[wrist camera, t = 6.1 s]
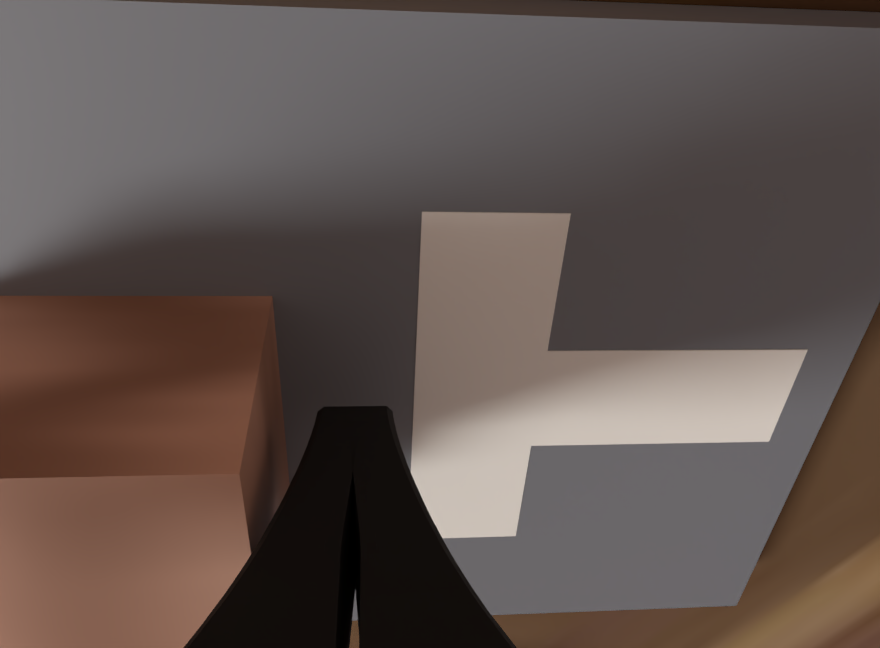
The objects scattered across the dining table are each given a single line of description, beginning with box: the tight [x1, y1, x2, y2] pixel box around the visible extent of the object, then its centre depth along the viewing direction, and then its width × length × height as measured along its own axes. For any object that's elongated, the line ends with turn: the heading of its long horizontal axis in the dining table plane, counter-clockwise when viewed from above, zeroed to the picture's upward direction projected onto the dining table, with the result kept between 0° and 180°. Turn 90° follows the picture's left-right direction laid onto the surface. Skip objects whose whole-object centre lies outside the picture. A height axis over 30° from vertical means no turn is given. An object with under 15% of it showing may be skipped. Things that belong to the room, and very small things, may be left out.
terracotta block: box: [0, 296, 290, 648], centre depth 12 cm, size 5×5×4 cm
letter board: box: [0, 0, 880, 620], centre depth 15 cm, size 18×14×1 cm
